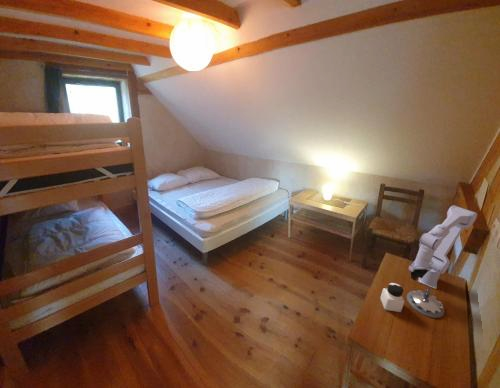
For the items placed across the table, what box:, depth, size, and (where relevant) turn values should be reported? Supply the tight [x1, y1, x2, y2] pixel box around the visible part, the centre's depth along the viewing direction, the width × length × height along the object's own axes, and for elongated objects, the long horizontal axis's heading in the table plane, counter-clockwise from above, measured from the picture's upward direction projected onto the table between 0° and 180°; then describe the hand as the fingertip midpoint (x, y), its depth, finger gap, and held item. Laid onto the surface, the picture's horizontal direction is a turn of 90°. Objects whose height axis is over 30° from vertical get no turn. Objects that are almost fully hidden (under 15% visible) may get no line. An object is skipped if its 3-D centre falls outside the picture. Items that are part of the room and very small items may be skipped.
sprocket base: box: [405, 290, 445, 319], centre depth 112 cm, size 15×15×1 cm
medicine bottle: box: [380, 282, 405, 313], centre depth 109 cm, size 7×7×12 cm
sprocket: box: [409, 287, 444, 314], centre depth 110 cm, size 13×13×5 cm
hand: (416, 278), depth 115 cm, fingers open, 4 cm apart
